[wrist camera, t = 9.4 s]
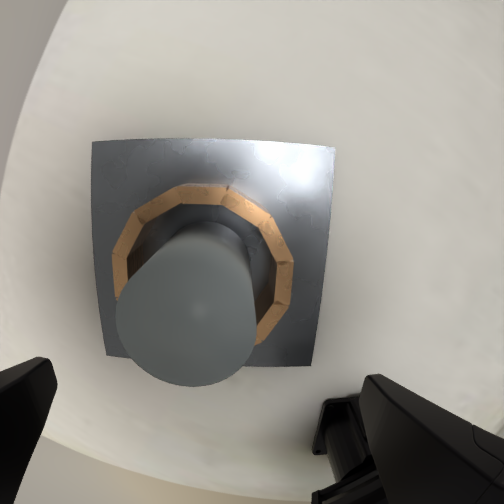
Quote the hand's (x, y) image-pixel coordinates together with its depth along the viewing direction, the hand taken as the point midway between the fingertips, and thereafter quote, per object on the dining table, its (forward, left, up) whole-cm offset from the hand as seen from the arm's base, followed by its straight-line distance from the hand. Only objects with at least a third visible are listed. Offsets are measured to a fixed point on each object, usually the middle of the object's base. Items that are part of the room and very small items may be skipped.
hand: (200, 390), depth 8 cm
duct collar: (0, +1, -12) cm, 12 cm away
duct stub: (0, +1, -11) cm, 11 cm away
